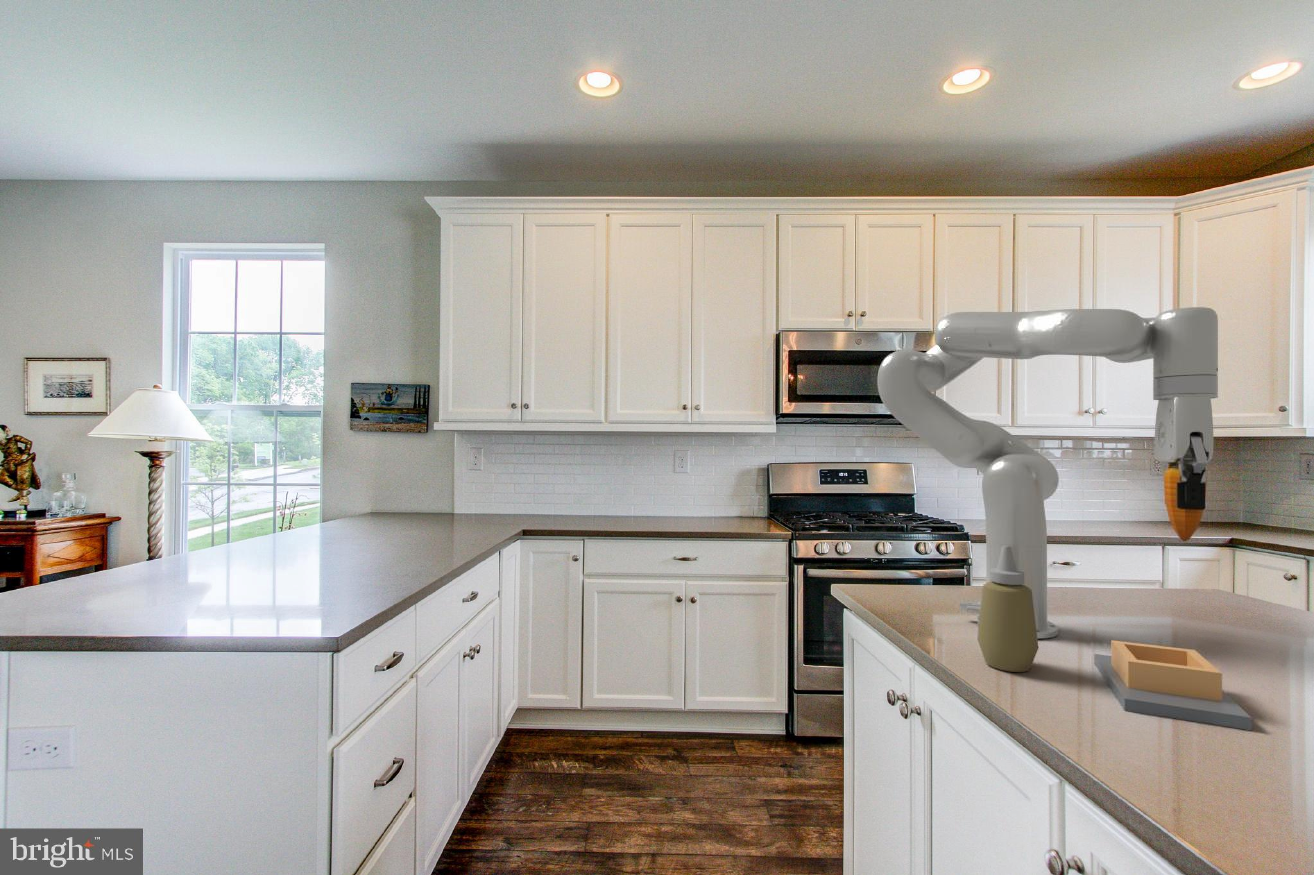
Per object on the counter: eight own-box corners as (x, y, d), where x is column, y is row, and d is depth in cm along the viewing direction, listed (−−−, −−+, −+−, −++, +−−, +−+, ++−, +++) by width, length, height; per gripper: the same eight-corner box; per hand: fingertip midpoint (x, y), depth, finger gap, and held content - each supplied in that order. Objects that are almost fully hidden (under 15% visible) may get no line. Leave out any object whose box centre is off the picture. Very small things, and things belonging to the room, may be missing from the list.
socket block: (1124, 710, 76) (1124, 670, 76) (1094, 663, 92) (1094, 630, 92) (1251, 730, 70) (1251, 687, 71) (1195, 676, 87) (1195, 642, 87)
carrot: (1155, 538, 95) (1155, 443, 95) (1184, 538, 96) (1184, 444, 96) (1185, 544, 90) (1185, 444, 90) (1215, 543, 91) (1215, 444, 91)
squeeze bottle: (1031, 660, 93) (1030, 544, 94) (1045, 679, 86) (1045, 552, 86) (973, 654, 96) (972, 541, 96) (982, 672, 88) (981, 549, 89)
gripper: (1139, 394, 102) (1138, 501, 102) (1171, 385, 87) (1171, 511, 87) (1196, 392, 99) (1195, 503, 99) (1240, 384, 84) (1240, 515, 84)
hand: (1184, 506), depth 93 cm, fingers closed on carrot, 4 cm apart
